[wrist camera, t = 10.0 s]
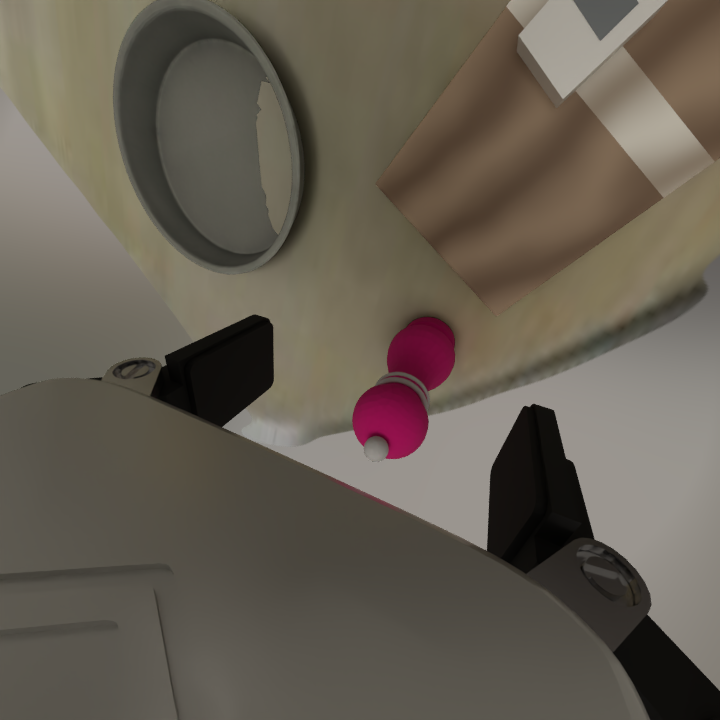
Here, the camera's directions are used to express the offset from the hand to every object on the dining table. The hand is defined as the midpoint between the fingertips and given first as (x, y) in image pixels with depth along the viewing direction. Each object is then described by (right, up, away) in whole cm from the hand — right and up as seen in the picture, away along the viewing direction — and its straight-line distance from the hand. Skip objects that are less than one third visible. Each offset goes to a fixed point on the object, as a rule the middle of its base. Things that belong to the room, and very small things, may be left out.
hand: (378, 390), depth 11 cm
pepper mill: (+8, +3, +26) cm, 28 cm away
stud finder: (+14, +23, +10) cm, 29 cm away
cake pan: (-16, +25, +26) cm, 39 cm away
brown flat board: (+14, +19, +15) cm, 28 cm away
